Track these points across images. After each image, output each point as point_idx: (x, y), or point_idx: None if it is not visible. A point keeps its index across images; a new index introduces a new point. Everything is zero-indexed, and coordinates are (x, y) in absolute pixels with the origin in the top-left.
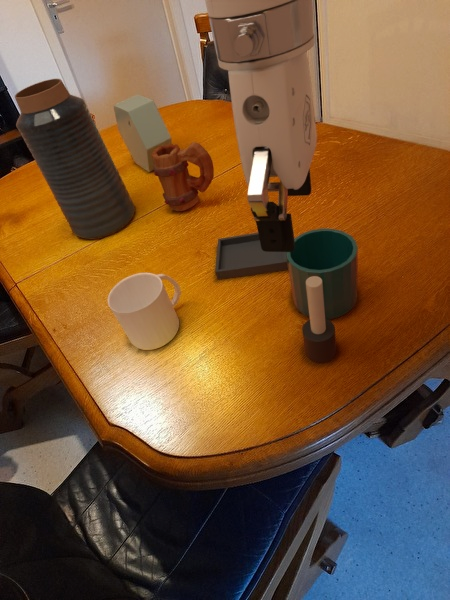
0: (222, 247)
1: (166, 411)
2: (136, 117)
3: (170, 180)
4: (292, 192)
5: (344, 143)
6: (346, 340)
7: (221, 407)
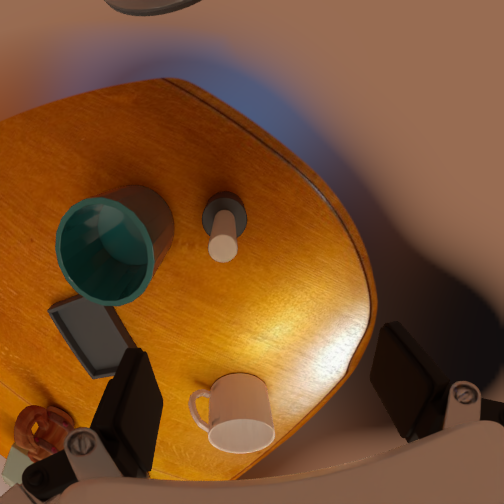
0: (98, 369)
1: (331, 340)
2: None
3: (59, 445)
4: (154, 390)
5: None
6: (201, 182)
7: (320, 294)
